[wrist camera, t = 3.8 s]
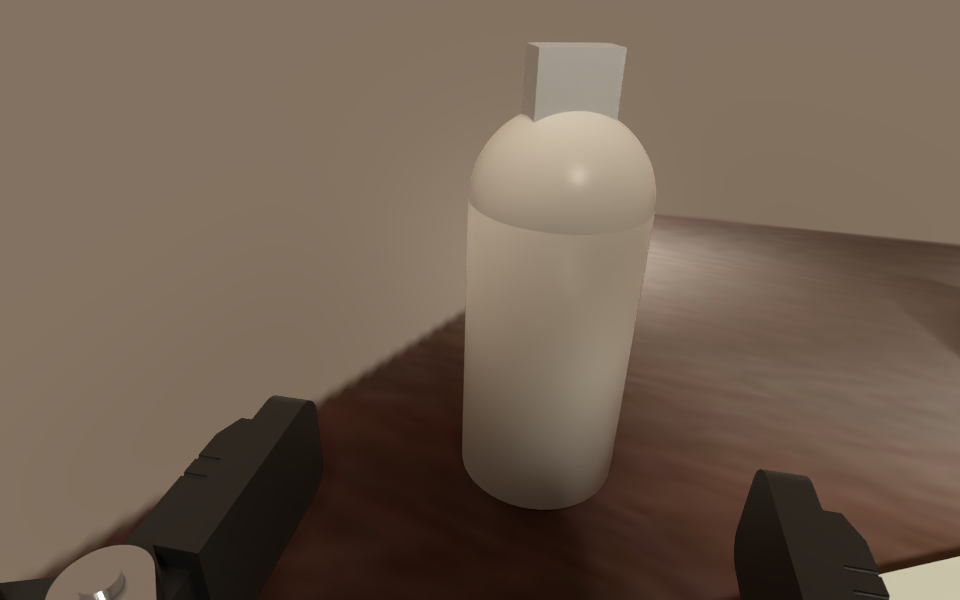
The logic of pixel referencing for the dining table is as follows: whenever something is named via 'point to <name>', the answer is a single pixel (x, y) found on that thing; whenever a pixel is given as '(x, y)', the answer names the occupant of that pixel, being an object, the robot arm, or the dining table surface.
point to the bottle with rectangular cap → (554, 281)
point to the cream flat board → (925, 581)
